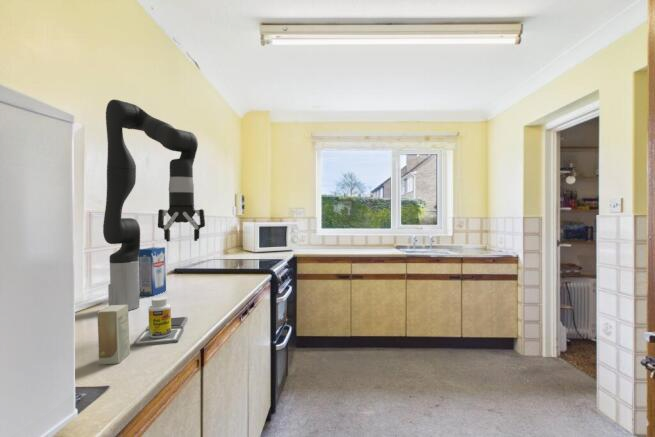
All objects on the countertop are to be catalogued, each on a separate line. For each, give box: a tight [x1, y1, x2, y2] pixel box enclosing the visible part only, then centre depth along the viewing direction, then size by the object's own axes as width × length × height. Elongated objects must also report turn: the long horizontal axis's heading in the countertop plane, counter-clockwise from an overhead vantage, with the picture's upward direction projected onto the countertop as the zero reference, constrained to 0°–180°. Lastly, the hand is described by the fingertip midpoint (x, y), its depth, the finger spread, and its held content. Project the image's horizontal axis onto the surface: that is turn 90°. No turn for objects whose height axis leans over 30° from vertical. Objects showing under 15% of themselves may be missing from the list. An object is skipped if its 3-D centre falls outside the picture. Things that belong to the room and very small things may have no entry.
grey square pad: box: [131, 328, 185, 347], centre depth 101 cm, size 11×10×1 cm
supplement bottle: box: [148, 296, 172, 338], centre depth 102 cm, size 6×6×10 cm
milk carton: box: [138, 246, 167, 297], centre depth 162 cm, size 10×6×20 cm, turn 172°
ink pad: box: [145, 316, 188, 332], centre depth 113 cm, size 10×10×1 cm
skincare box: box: [97, 305, 131, 365], centre depth 87 cm, size 6×4×12 cm
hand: (182, 241), depth 121 cm, fingers open, 8 cm apart
